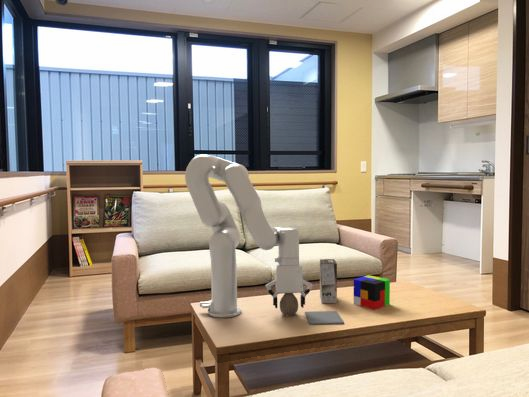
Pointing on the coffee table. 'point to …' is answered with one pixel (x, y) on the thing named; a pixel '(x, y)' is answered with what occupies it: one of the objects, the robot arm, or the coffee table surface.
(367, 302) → the puzzle toy
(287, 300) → the vase
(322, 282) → the coffee box
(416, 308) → the coffee table surface
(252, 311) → the coffee table surface
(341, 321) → the mat
